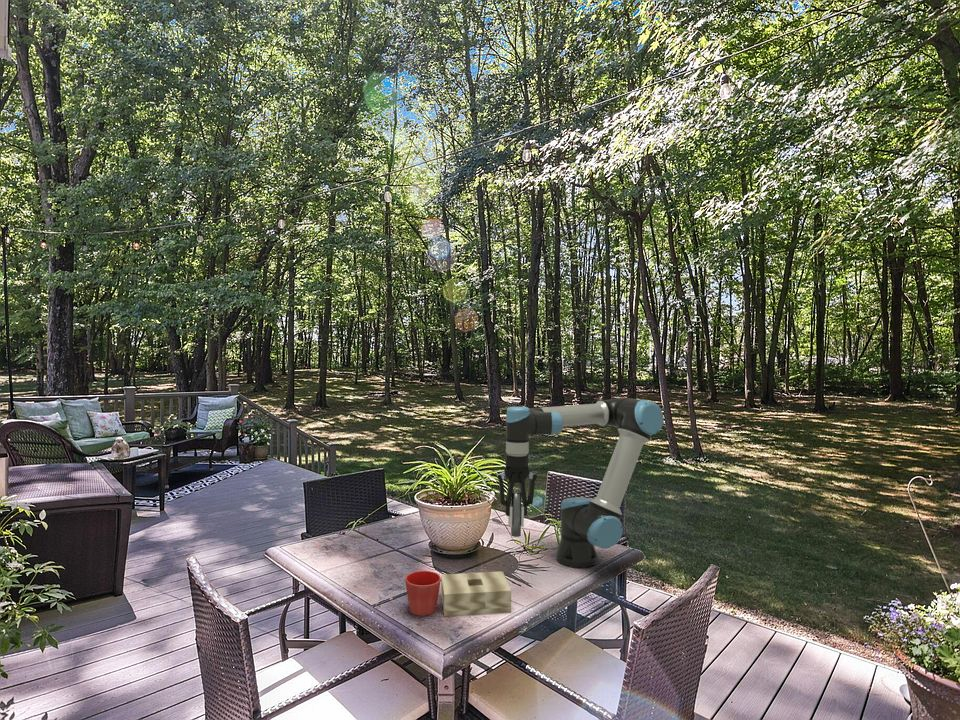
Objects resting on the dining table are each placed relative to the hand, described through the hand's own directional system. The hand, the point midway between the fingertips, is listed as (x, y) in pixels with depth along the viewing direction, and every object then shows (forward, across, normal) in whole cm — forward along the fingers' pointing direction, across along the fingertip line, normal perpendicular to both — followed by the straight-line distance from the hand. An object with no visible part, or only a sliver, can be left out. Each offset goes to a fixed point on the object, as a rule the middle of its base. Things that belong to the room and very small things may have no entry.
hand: (515, 525), depth 172 cm
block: (+21, +14, +8) cm, 27 cm away
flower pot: (+21, +30, +10) cm, 38 cm away
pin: (+3, 0, 0) cm, 3 cm away
